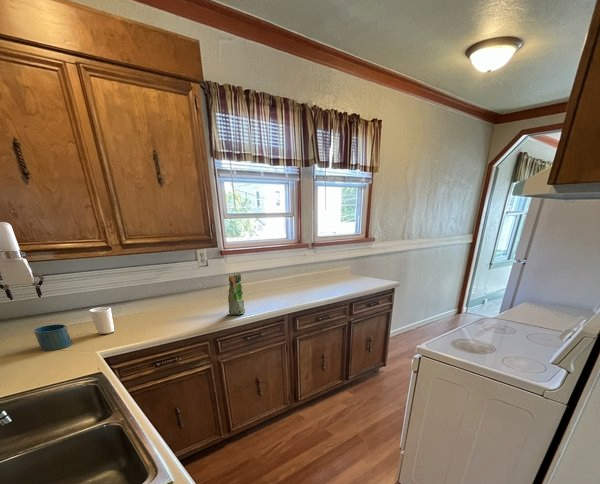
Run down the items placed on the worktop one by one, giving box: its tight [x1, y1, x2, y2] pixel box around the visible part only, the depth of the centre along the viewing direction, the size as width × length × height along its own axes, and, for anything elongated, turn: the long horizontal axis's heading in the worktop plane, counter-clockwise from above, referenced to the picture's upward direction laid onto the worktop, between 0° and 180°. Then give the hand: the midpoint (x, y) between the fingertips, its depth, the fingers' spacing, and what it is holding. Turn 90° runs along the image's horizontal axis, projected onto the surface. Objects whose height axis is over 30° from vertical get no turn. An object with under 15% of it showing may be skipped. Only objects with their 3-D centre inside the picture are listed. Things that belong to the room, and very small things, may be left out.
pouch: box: [227, 272, 246, 316], centre depth 202 cm, size 11×12×25 cm
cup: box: [88, 306, 115, 336], centre depth 171 cm, size 10×10×13 cm
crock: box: [33, 323, 73, 352], centre depth 154 cm, size 12×12×9 cm
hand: (26, 298), depth 140 cm, fingers open, 9 cm apart
